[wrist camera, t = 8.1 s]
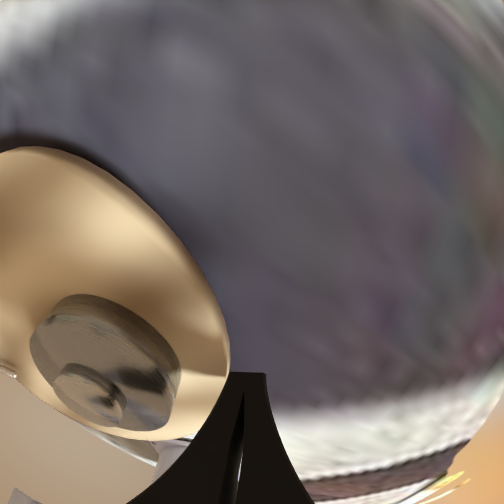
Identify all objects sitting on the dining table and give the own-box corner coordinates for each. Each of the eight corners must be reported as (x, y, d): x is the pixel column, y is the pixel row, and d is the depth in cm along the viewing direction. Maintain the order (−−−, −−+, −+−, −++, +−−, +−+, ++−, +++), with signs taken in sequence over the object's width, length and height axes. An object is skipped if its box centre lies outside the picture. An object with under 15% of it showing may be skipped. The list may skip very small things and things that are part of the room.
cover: (213, 382, 12) (200, 442, 9) (123, 405, 14) (106, 448, 11) (100, 266, 10) (53, 320, 7) (35, 323, 12) (3, 363, 9)
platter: (305, 388, 14) (309, 480, 9) (100, 431, 20) (81, 477, 15) (50, 51, 7) (-57, 50, 2) (-53, 266, 13) (-92, 302, 8)
